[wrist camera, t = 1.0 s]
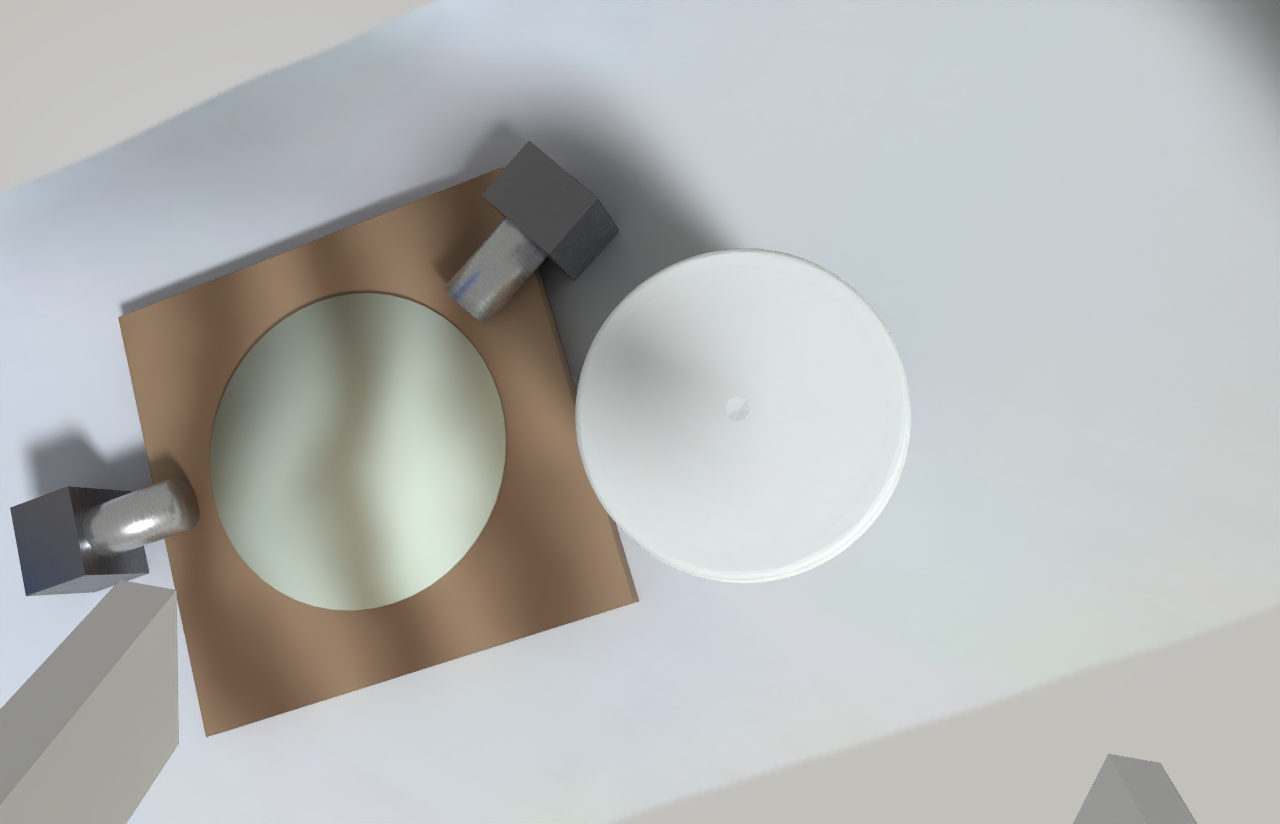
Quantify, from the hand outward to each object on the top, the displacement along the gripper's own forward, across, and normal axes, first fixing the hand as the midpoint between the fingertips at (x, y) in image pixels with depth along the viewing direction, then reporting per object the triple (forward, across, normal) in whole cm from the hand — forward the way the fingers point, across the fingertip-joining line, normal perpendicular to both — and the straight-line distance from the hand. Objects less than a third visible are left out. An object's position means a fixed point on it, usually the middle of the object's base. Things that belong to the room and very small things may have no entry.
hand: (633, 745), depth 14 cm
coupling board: (+29, -11, -12) cm, 33 cm away
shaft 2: (+32, -5, -3) cm, 33 cm away
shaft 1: (+28, -21, -18) cm, 40 cm away
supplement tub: (+26, +6, -8) cm, 28 cm away
